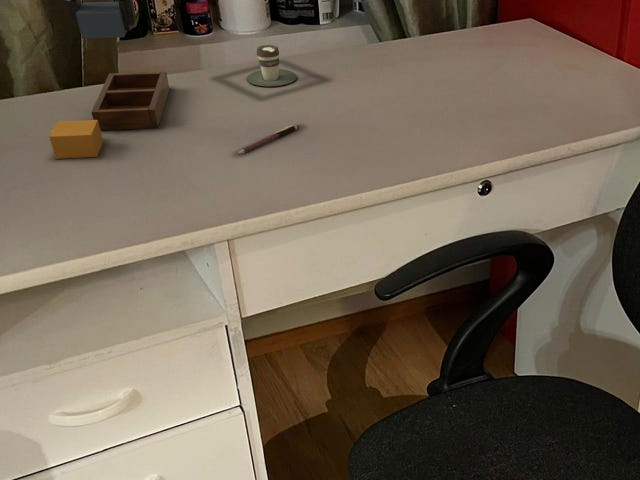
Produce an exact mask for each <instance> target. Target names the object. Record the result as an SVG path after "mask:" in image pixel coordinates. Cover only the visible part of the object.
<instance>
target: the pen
mask: <svg viewBox="0 0 640 480" xmlns="http://www.w3.org/2000/svg"><path fill="white" fill-rule="evenodd" d="M299 127H300V126H299V125H295V124H290V125H287V126H285V127H282V128H280V129H278V130H277V131H274V132H273V134H271V135H269V136H266V137H264V138H263V139H260V140H259V141H258V140H257V141H256V142H254V143H252V144H250V145H247V146H246V147H243V148H242V149H240V150H239V151H238V152H237V155H244V154H246V153H249V152H251V151H253V150H256V149H259V148H260V147H262V146H264V145H267V144H268V143H272V142H275V141H276V140H278V139H281V138H282V137H285V136H286V135H289V134H291V133H293V132H295V131H297V130H298V128H299Z"/></svg>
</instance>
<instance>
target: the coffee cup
mask: <svg viewBox="0 0 640 480" xmlns="http://www.w3.org/2000/svg"><path fill="white" fill-rule="evenodd" d="M256 56H257V57H258V58H257V60H258V63H259V67H260V70H257V71H254V72H252V73H250V74H248V75H247V76H246V81H247V82H248V83H249V84H250V85H252V86H255V87H259V88H277V87H278V88H279V87H282V86H287V85H290V84H293V83H294V82H295V81H296V80H298V75H297V74H296V73H295V72H293V71H291V70H289V69H281V68H280V51H279V47H278V46H276V45H274V44H263V45H259V46H258V47H257V48H256Z"/></svg>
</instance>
